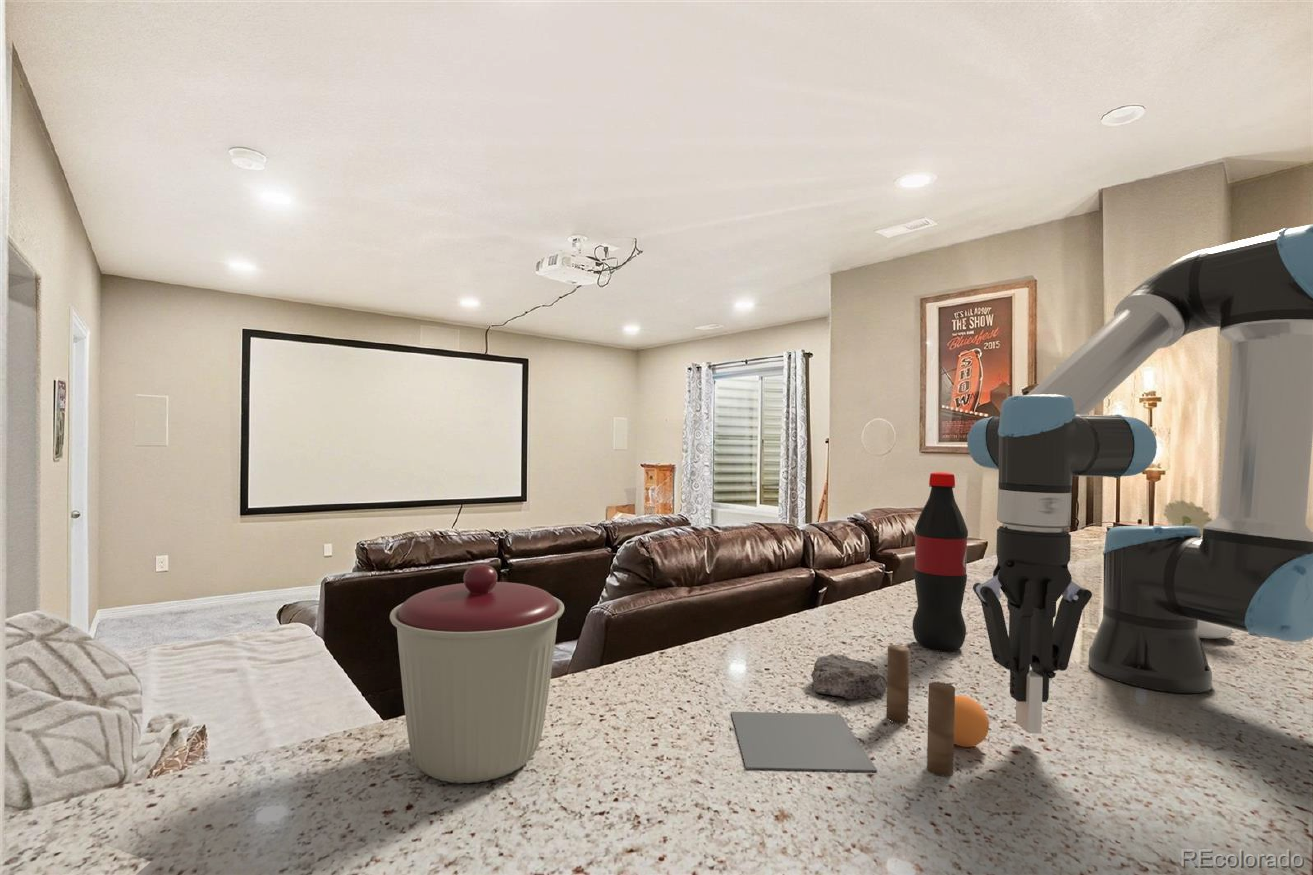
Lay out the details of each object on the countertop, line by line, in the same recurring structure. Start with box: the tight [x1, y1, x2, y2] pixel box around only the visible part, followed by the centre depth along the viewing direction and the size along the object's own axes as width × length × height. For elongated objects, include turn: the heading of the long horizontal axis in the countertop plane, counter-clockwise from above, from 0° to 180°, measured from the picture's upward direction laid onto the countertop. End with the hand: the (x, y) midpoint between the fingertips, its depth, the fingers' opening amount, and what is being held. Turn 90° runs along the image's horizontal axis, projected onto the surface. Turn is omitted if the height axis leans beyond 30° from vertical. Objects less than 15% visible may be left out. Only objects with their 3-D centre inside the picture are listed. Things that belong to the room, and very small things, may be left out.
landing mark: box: [731, 711, 878, 772], centre depth 77 cm, size 14×14×1 cm
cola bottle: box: [912, 471, 969, 653], centre depth 113 cm, size 8×8×30 cm
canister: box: [389, 563, 565, 784], centre depth 71 cm, size 18×18×21 cm
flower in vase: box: [1163, 499, 1234, 640], centre depth 123 cm, size 13×11×25 cm
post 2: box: [926, 681, 956, 777], centre depth 70 cm, size 3×3×9 cm
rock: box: [811, 653, 887, 701], centre depth 93 cm, size 9×11×4 cm
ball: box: [954, 695, 990, 748], centre depth 76 cm, size 6×6×6 cm
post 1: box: [885, 644, 911, 724], centre depth 83 cm, size 3×3×9 cm
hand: (1028, 727), depth 77 cm, fingers closed
